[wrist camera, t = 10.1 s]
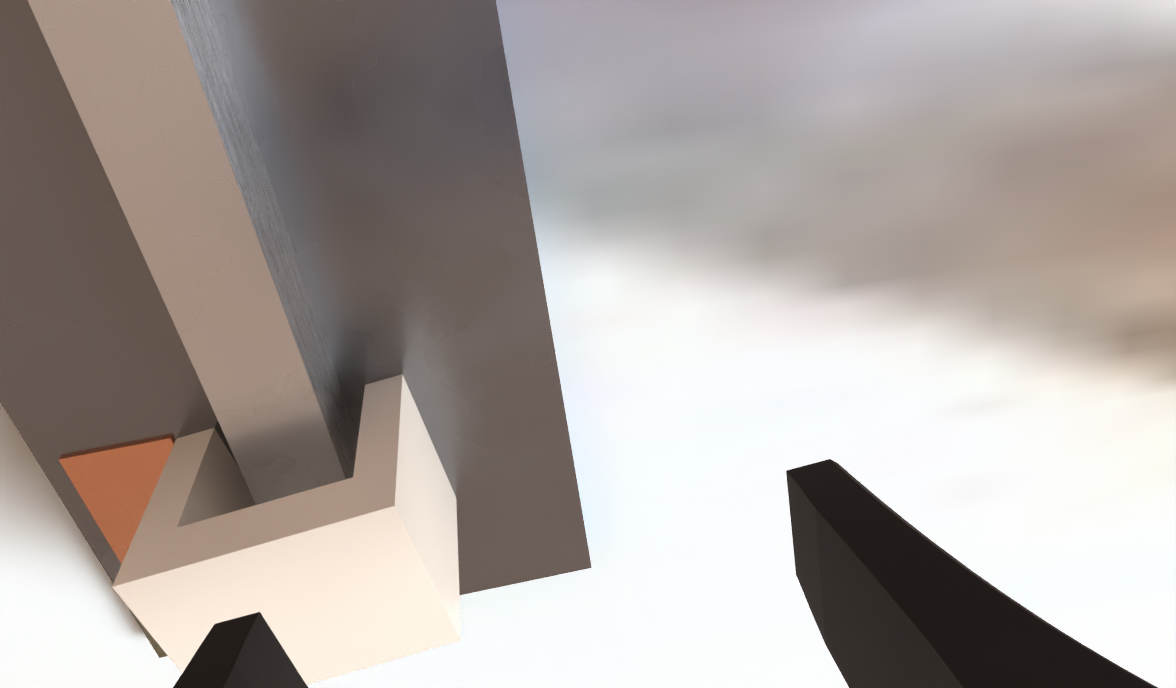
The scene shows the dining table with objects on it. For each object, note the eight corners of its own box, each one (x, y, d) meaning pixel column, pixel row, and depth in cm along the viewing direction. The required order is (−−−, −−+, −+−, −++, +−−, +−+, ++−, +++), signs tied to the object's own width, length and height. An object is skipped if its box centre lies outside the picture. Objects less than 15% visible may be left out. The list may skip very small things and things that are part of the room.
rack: (463, -183, 14) (468, -188, 12) (586, 547, 24) (604, 624, 22) (-260, -81, 14) (-407, -65, 11) (167, 633, 23) (137, 723, 21)
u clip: (402, 374, 19) (394, 506, 15) (456, 497, 21) (461, 639, 17) (176, 438, 19) (112, 587, 15) (253, 555, 21) (213, 712, 17)
